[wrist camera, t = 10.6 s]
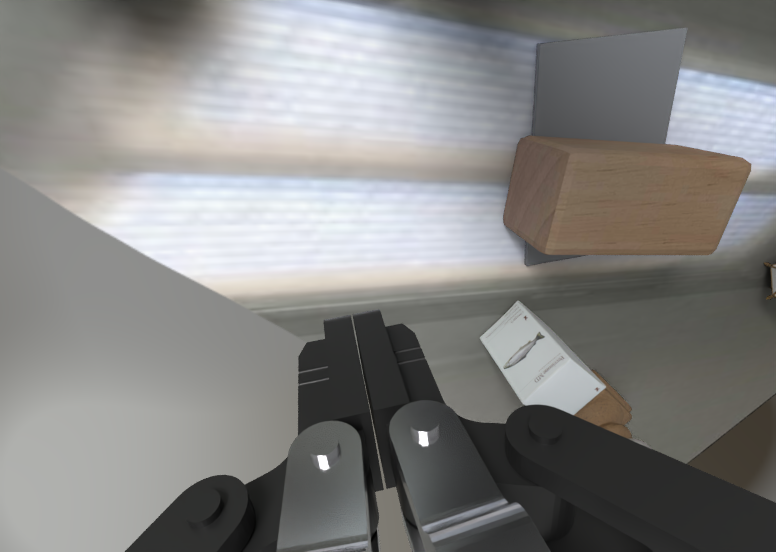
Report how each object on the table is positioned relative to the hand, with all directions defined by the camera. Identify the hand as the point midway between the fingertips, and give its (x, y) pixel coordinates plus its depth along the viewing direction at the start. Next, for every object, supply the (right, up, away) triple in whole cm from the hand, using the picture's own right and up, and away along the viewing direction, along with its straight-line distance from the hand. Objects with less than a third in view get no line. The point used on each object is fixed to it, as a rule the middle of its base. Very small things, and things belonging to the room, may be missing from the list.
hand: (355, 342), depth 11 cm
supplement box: (+18, -6, +45) cm, 49 cm away
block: (+15, +10, +30) cm, 35 cm away
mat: (+24, +15, +36) cm, 46 cm away
